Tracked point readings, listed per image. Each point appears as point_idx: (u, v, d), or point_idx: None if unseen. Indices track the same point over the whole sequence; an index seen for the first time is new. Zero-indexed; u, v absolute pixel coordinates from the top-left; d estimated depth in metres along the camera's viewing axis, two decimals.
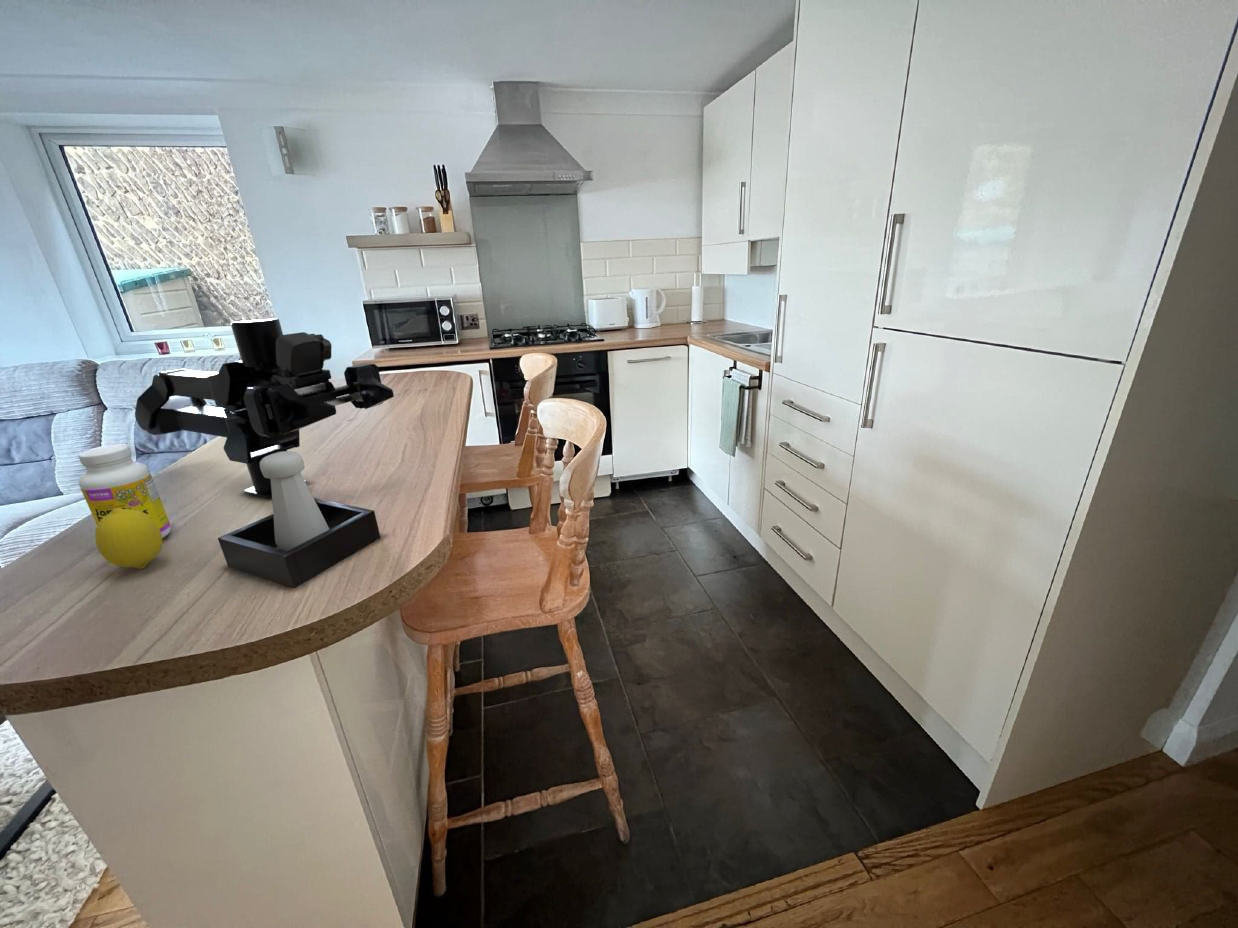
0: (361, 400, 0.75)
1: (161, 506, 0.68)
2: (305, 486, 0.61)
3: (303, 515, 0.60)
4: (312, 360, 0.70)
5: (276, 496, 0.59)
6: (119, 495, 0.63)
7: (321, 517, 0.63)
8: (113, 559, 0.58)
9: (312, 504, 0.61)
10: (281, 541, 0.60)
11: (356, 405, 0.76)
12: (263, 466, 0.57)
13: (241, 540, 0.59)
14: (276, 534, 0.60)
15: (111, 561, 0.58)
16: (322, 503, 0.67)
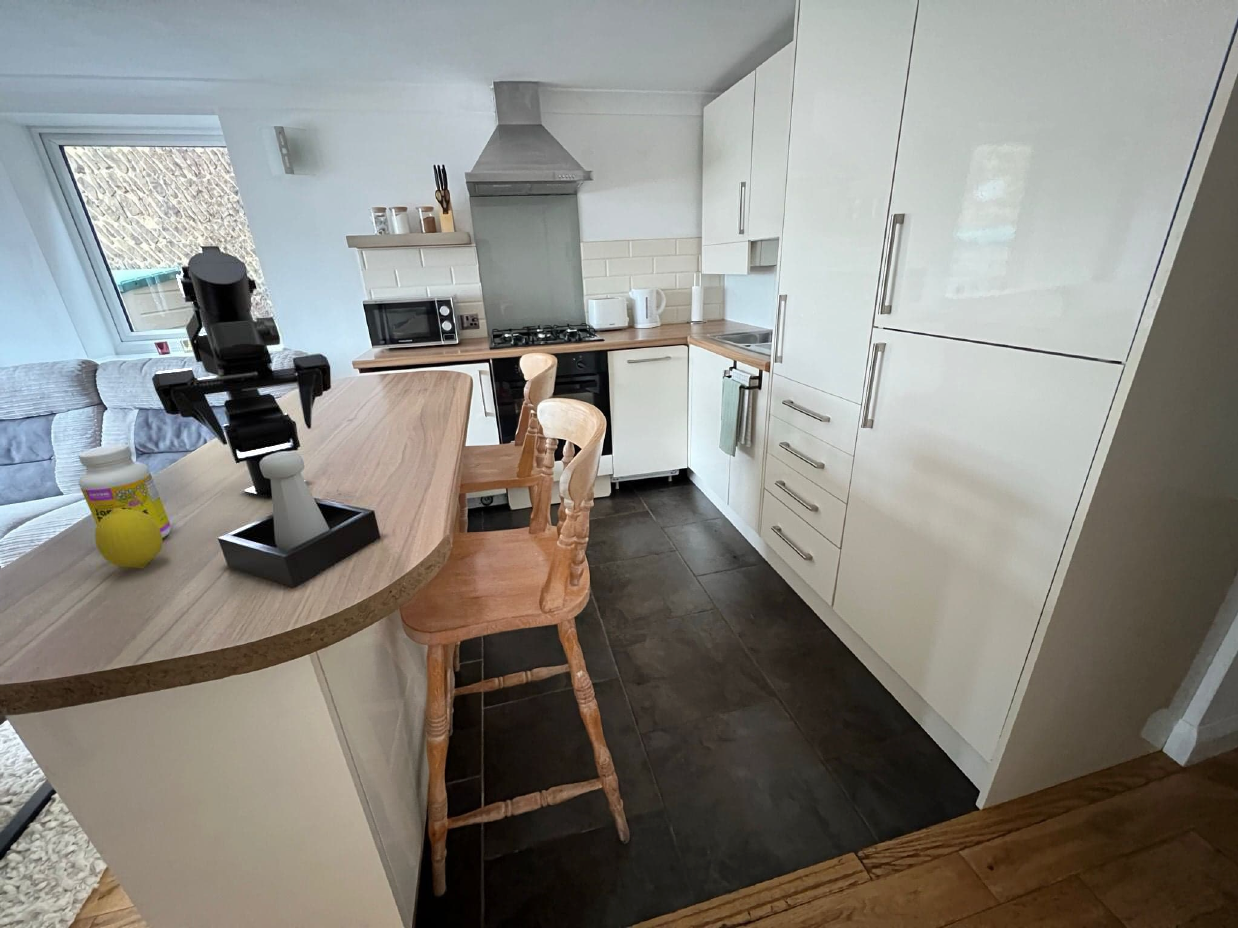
0: None
1: (161, 506, 0.68)
2: (305, 486, 0.61)
3: (303, 515, 0.60)
4: (249, 351, 0.64)
5: (276, 496, 0.59)
6: (119, 495, 0.63)
7: (321, 517, 0.63)
8: (113, 559, 0.58)
9: (312, 504, 0.61)
10: (281, 541, 0.60)
11: (297, 384, 0.72)
12: (263, 466, 0.57)
13: (241, 540, 0.59)
14: (276, 534, 0.60)
15: (111, 561, 0.58)
16: (322, 503, 0.67)
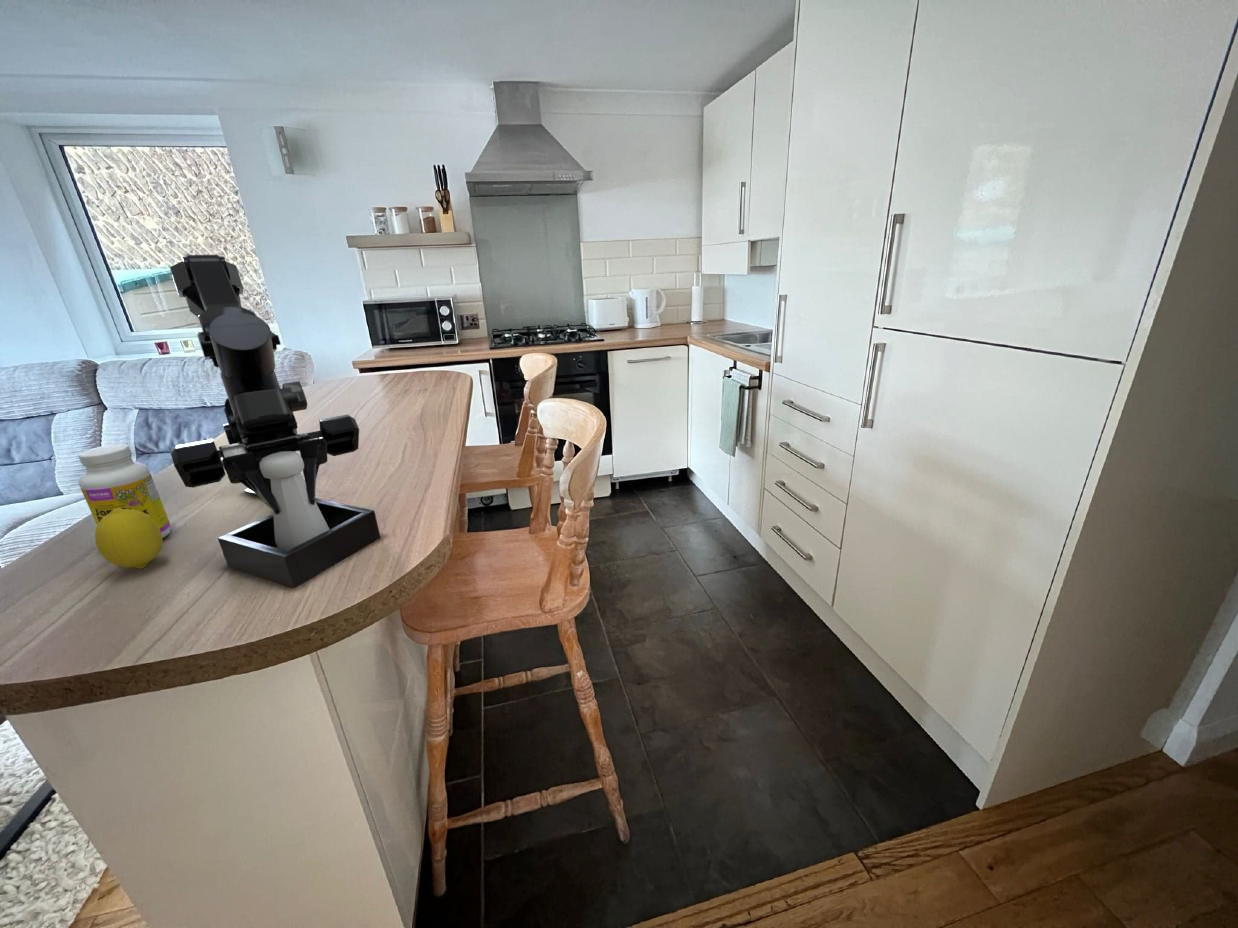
0: None
1: (161, 506, 0.68)
2: (305, 486, 0.61)
3: (303, 515, 0.60)
4: (274, 419, 0.59)
5: (275, 496, 0.59)
6: (119, 495, 0.63)
7: (321, 517, 0.63)
8: (113, 559, 0.58)
9: None
10: (281, 541, 0.60)
11: None
12: (263, 466, 0.57)
13: (241, 540, 0.59)
14: (276, 534, 0.60)
15: (111, 561, 0.58)
16: (322, 503, 0.67)
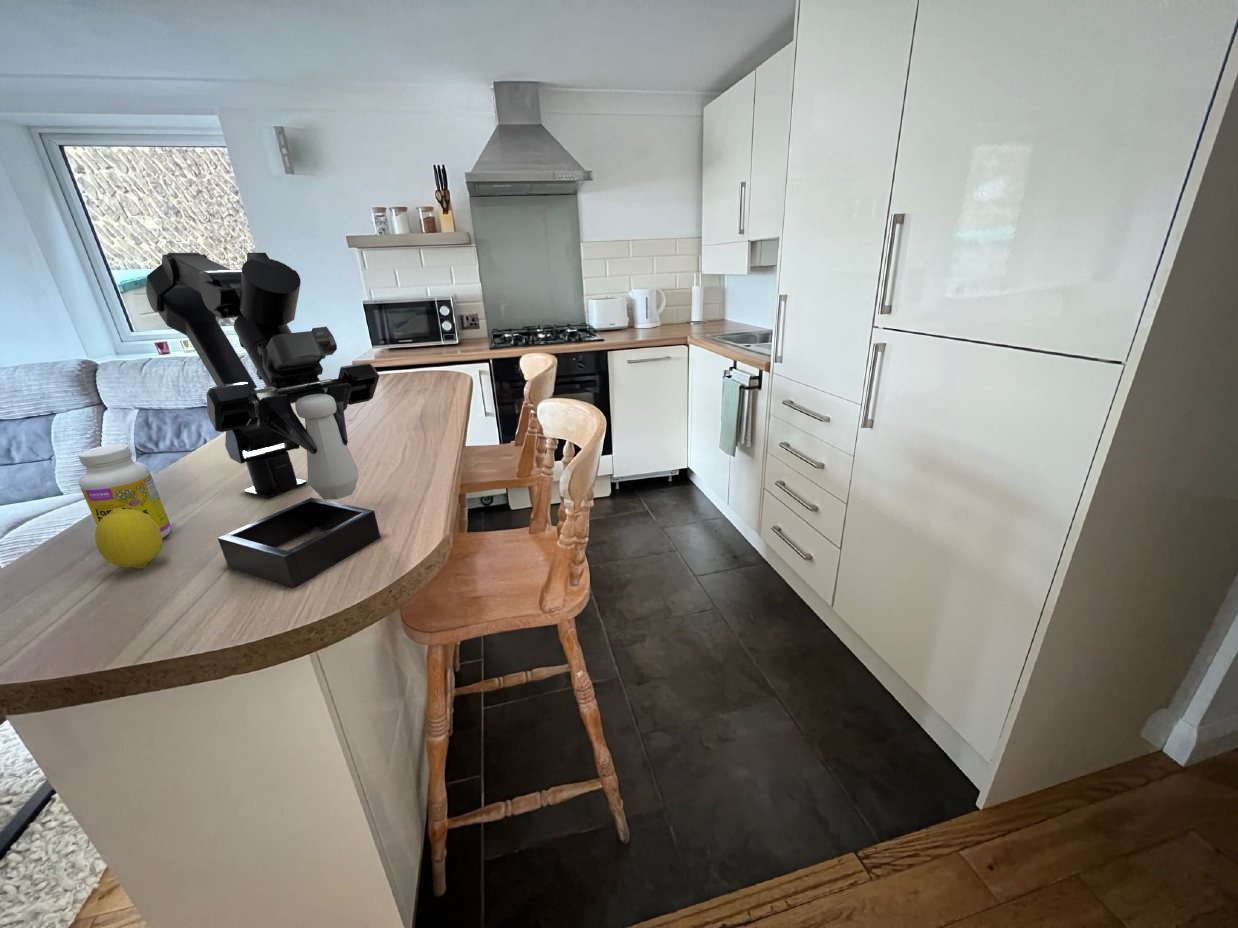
0: None
1: (161, 506, 0.68)
2: (337, 427, 0.64)
3: (339, 455, 0.63)
4: (305, 362, 0.62)
5: (312, 436, 0.61)
6: (119, 495, 0.63)
7: (352, 458, 0.66)
8: (113, 559, 0.58)
9: None
10: (318, 480, 0.62)
11: None
12: (302, 406, 0.60)
13: (241, 540, 0.59)
14: (312, 474, 0.62)
15: (111, 561, 0.58)
16: (322, 503, 0.67)
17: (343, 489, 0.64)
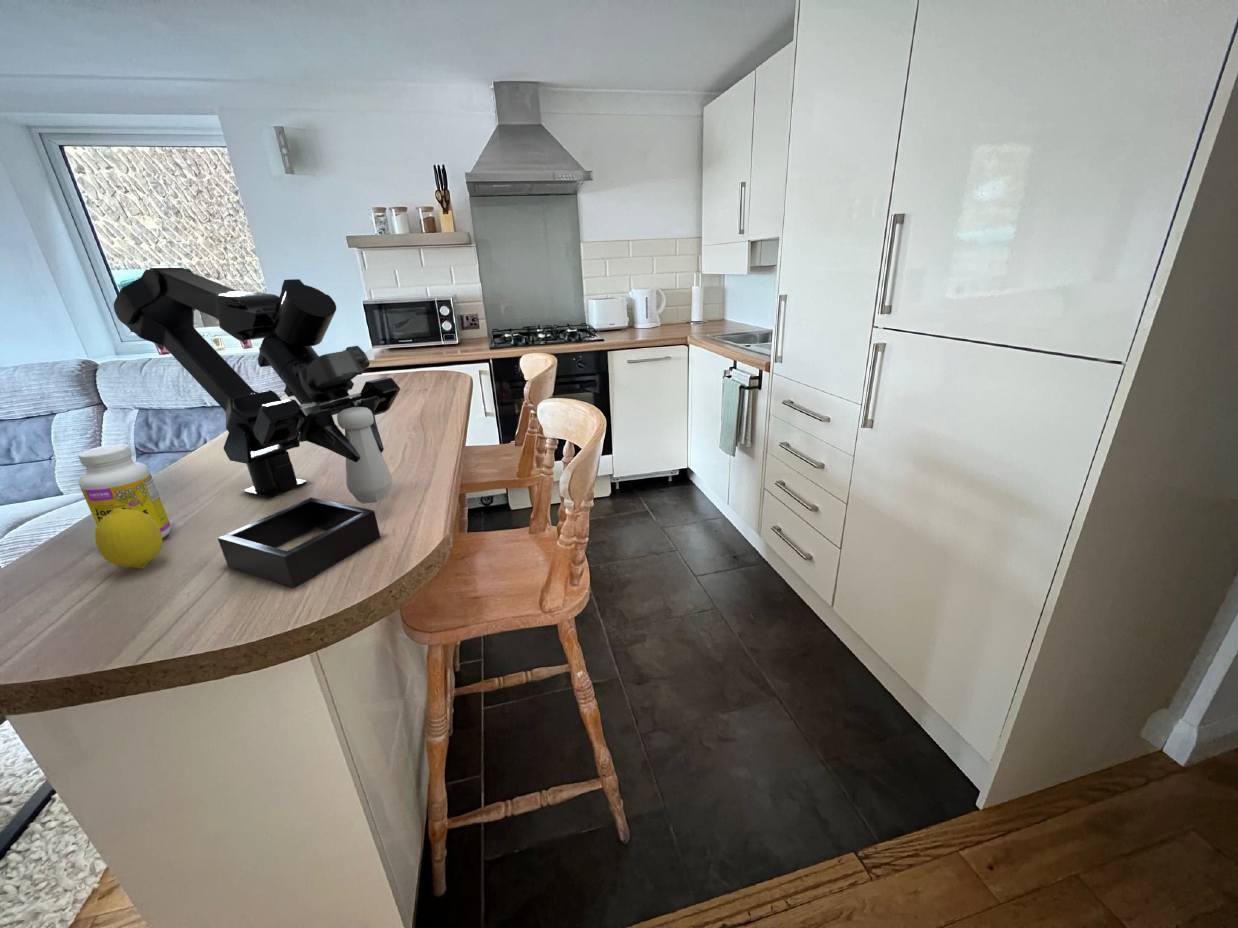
0: None
1: (161, 506, 0.68)
2: (373, 437, 0.70)
3: (378, 461, 0.69)
4: (343, 378, 0.67)
5: (355, 446, 0.67)
6: (119, 495, 0.63)
7: (385, 464, 0.72)
8: (113, 559, 0.58)
9: (380, 452, 0.71)
10: (361, 486, 0.68)
11: None
12: (347, 418, 0.66)
13: (241, 540, 0.59)
14: (354, 480, 0.68)
15: (111, 561, 0.58)
16: (322, 503, 0.67)
17: (382, 493, 0.70)
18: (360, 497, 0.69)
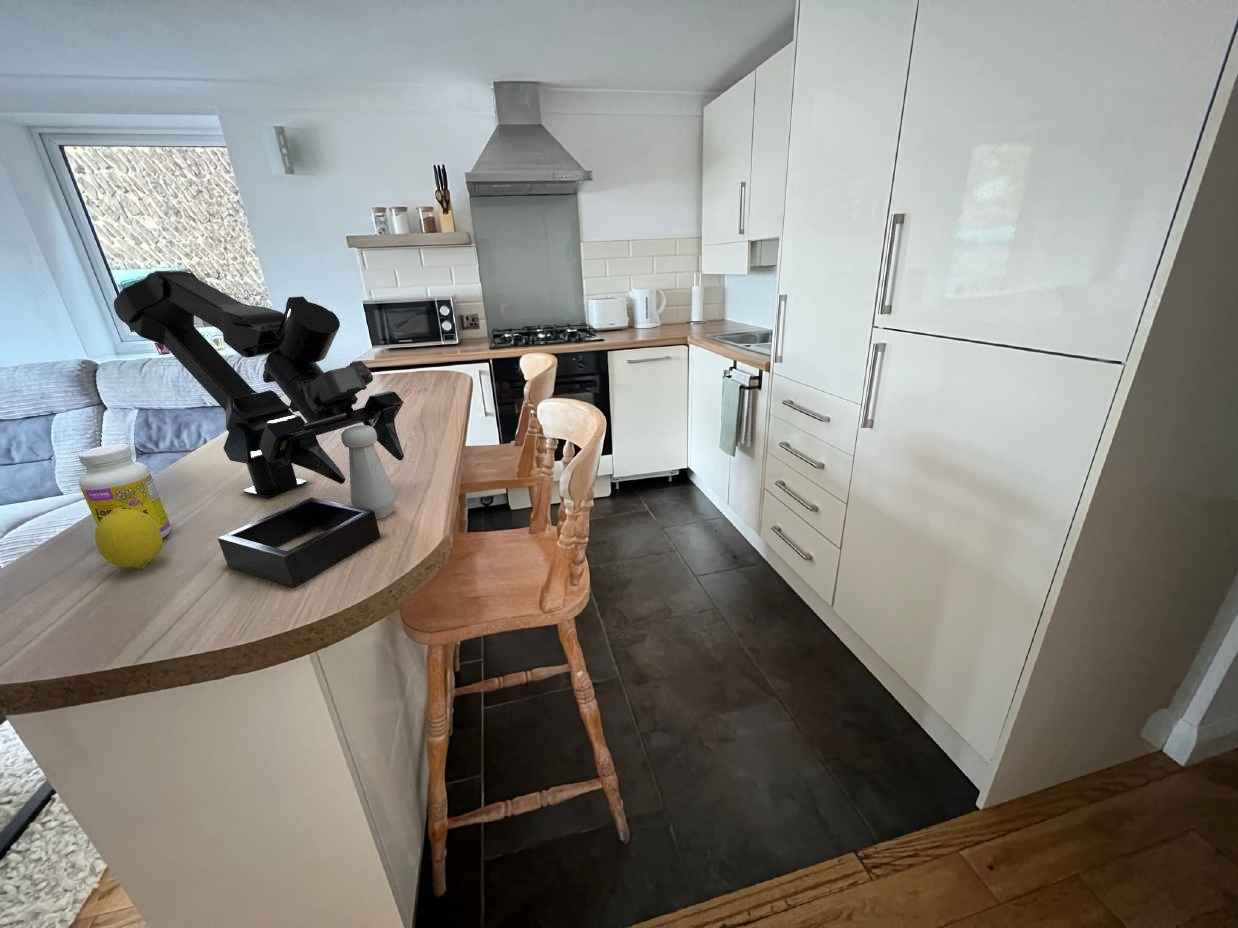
0: (371, 425, 0.76)
1: (161, 506, 0.68)
2: (377, 454, 0.71)
3: (382, 478, 0.70)
4: (347, 394, 0.68)
5: (358, 464, 0.68)
6: (119, 495, 0.63)
7: None
8: (113, 559, 0.58)
9: None
10: (365, 503, 0.69)
11: (364, 422, 0.76)
12: (351, 437, 0.67)
13: (241, 540, 0.59)
14: (358, 498, 0.69)
15: (111, 561, 0.58)
16: (322, 503, 0.67)
17: (386, 509, 0.71)
18: None
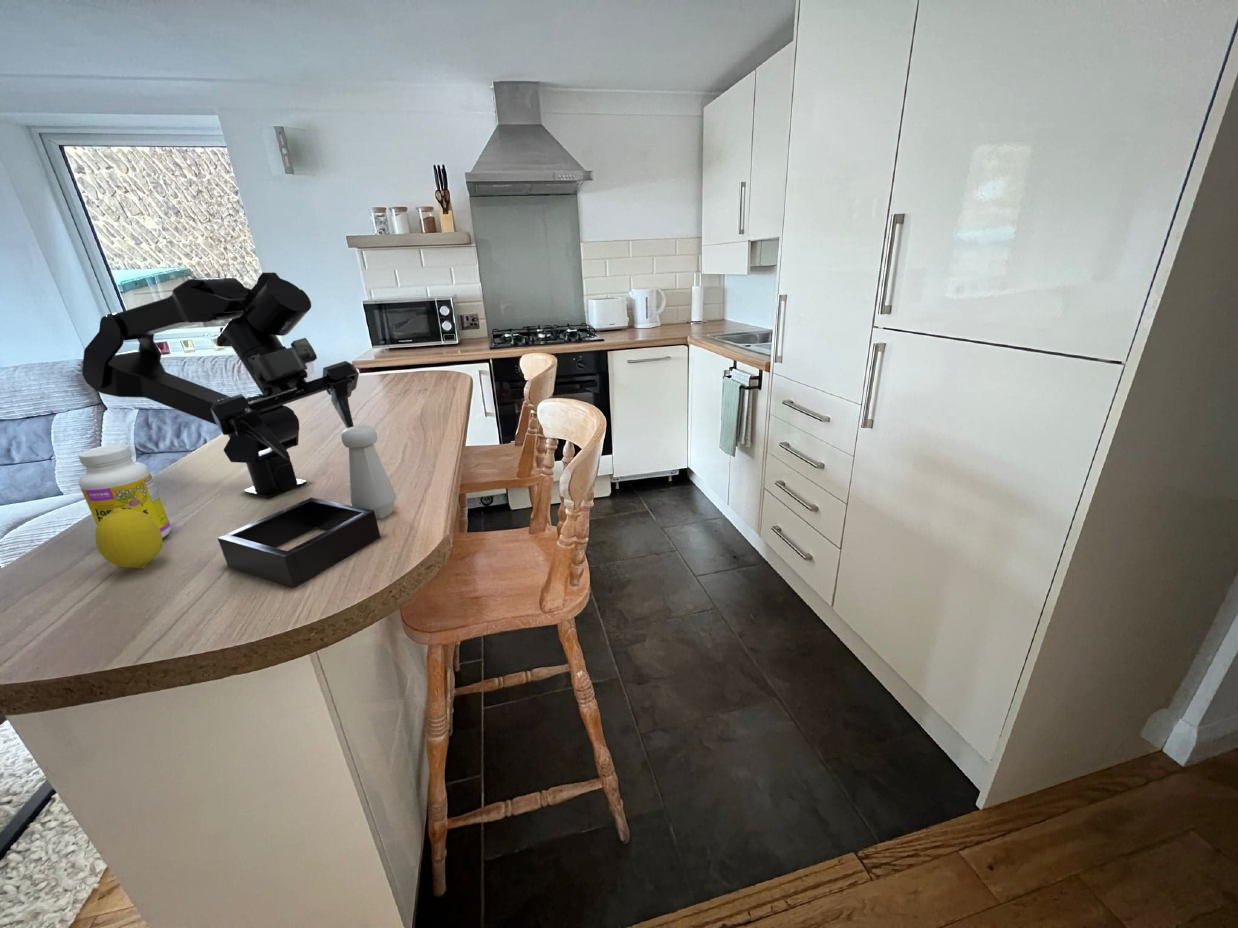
0: (331, 393, 0.78)
1: (161, 506, 0.68)
2: (377, 454, 0.71)
3: (382, 478, 0.70)
4: (291, 372, 0.70)
5: (358, 464, 0.68)
6: (119, 495, 0.63)
7: None
8: (113, 559, 0.58)
9: None
10: (365, 503, 0.69)
11: None
12: (351, 437, 0.67)
13: (241, 540, 0.59)
14: (358, 498, 0.69)
15: (111, 561, 0.58)
16: (322, 503, 0.67)
17: (386, 509, 0.71)
18: None
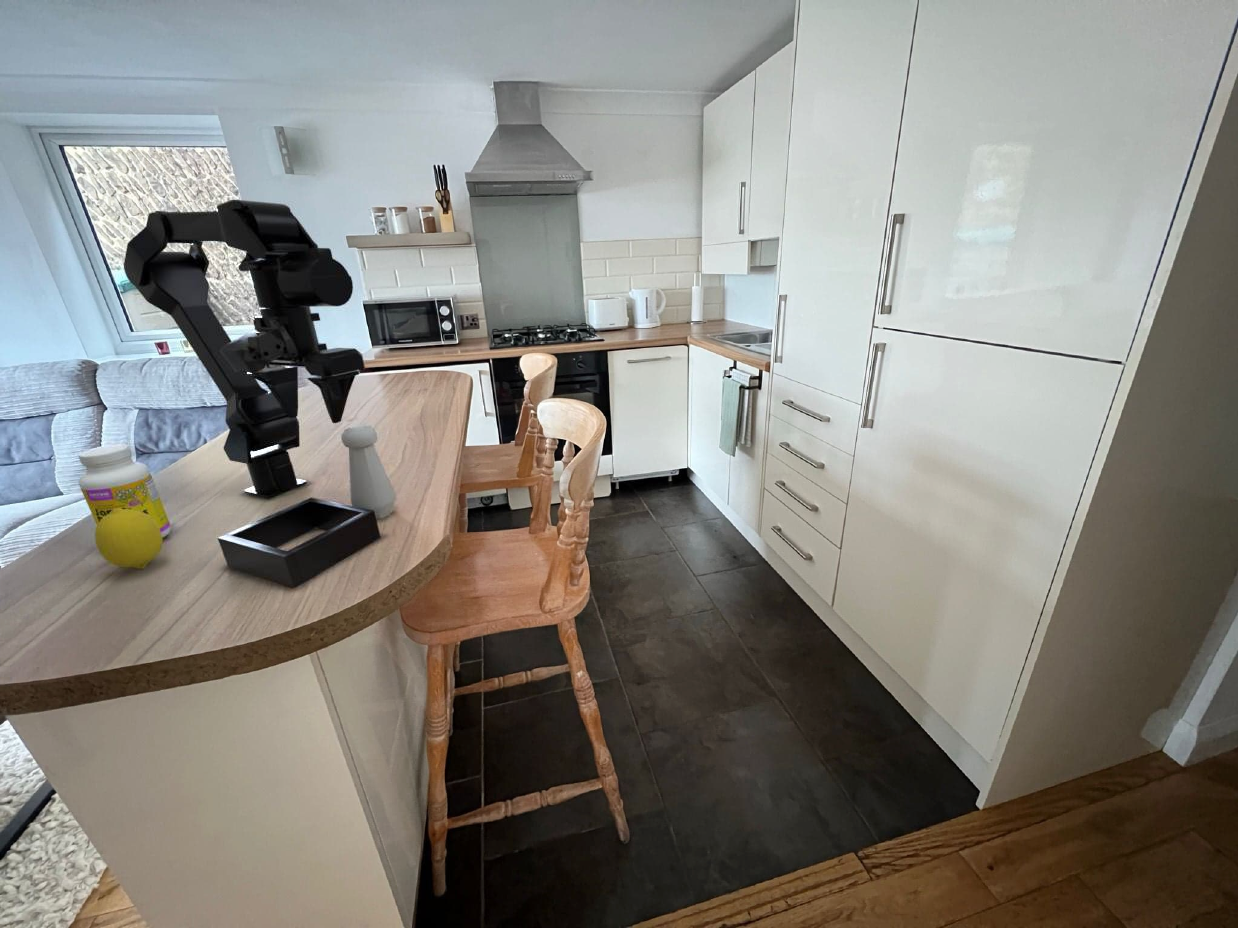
0: None
1: (161, 506, 0.68)
2: (377, 454, 0.71)
3: (382, 478, 0.70)
4: None
5: (359, 464, 0.68)
6: (119, 495, 0.63)
7: None
8: (113, 559, 0.58)
9: None
10: (365, 503, 0.69)
11: None
12: (351, 437, 0.67)
13: (241, 540, 0.59)
14: (358, 498, 0.69)
15: (111, 561, 0.58)
16: (322, 503, 0.67)
17: (386, 509, 0.71)
18: None
